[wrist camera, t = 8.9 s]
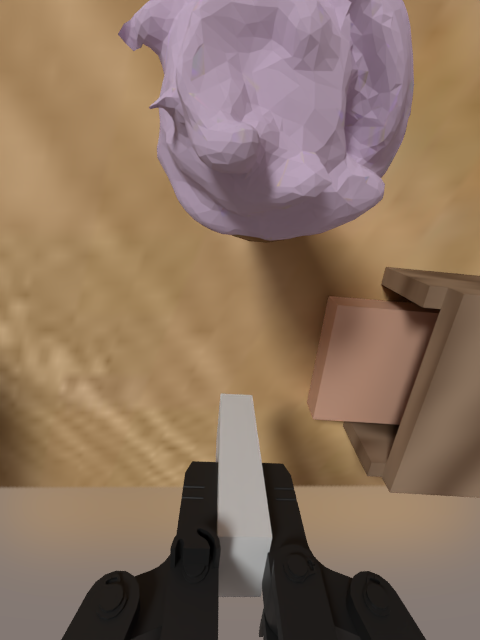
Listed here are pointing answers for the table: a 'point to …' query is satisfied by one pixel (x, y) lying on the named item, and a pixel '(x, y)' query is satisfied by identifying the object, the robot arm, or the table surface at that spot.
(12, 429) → the table surface
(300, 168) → the ice cream cone
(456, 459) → the brown channel bracket
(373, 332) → the pinkish brown block
